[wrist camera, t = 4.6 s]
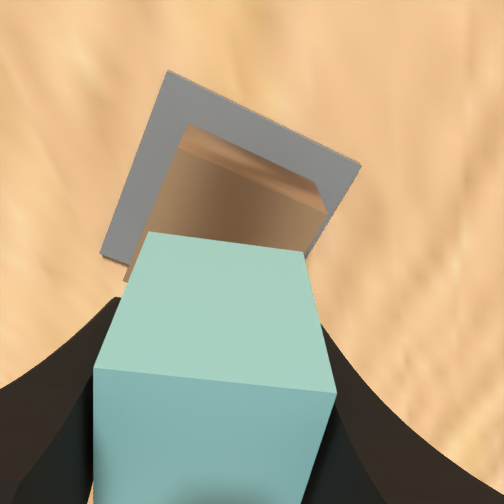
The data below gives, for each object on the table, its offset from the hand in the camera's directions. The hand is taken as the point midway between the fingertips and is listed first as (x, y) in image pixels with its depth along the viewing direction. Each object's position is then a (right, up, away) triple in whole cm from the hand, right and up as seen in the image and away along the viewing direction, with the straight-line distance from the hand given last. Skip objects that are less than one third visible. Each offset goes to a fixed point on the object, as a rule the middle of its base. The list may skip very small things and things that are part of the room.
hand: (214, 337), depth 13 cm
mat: (0, +4, +8) cm, 9 cm away
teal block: (0, +1, +1) cm, 2 cm away
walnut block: (0, +4, +8) cm, 9 cm away
